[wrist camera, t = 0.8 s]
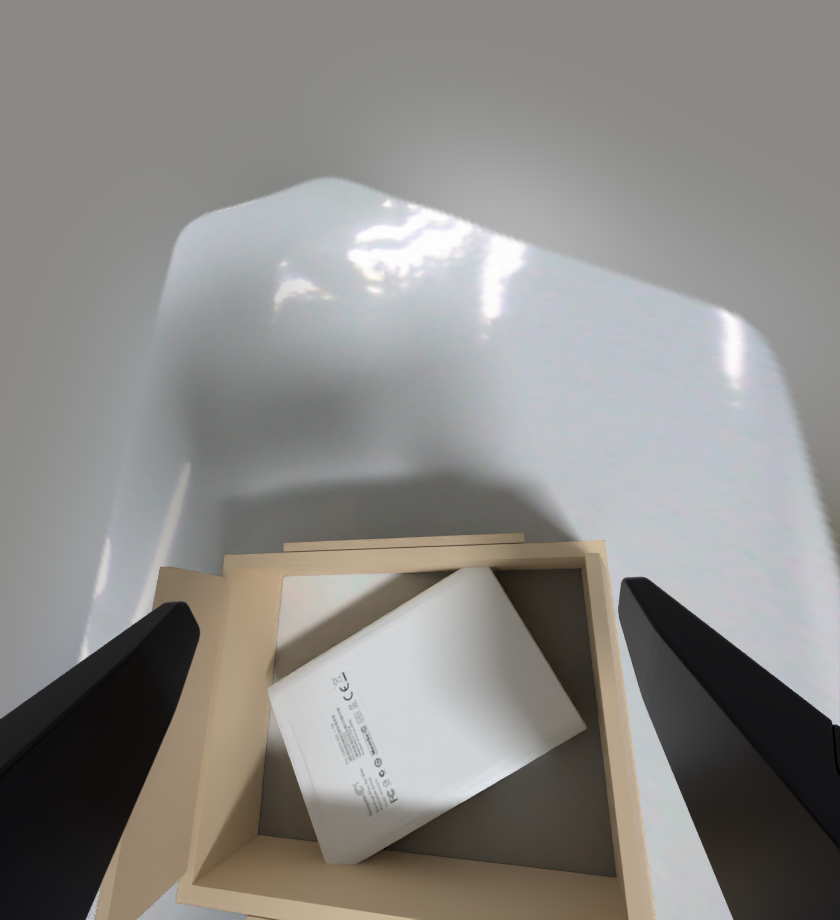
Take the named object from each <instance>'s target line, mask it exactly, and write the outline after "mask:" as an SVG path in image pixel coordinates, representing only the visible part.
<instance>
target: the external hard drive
mask: <svg viewBox="0 0 840 920" xmlns="http://www.w3.org/2000/svg"><path fill="white" fill-rule="evenodd" d="M267 690H268V697H269V700H270V703H271V706H272V709H273V712H274V715H275V718H276V721H277V723H278V726H279V729H280V731H281V734H282V737H283V740H284V743H285V746H286V749H287V752H288V755H289V758H290V760H291V763H292V766H293V769H294V772H295V775H296V778H297V781H298V784H299V787H300V790H301V793H302V796H303V799H304V802H305V805H306V807H307V810H308V813H309V816H310V819H311V822H312V825H313V828H314V831H315V834H316V837H317V840H318V843H319V846H320V849H321V852H322V854H323V858H324V861H325V863H329V864H343V865H355V864H357V863H359V862H361V861H363V860H364V859H366V858H368V857H370V856H371V855H373V854H375V853H377V852H378V851H380V850H382V849H383V848H385V847H387V846H388V845H390V844H392V843H394V842H395V841H397V840H399V839H401V838H402V837H404V836H406V835H408V834H409V833H411V832H412V831H414V830H416V829H418V828H419V827H421V826H423V825H425V824H426V823H428V822H430V821H431V820H433V819H435V818H436V817H438V816H440V815H442V814H443V813H445V812H446V811H448V810H450V809H452V808H453V807H455V806H457V805H458V804H460V803H462V802H464V801H465V800H467V799H469V798H471V797H472V796H474V795H475V794H477V793H479V792H480V791H482V790H484V789H486V788H487V787H489V786H491V785H492V784H494V783H496V782H498V781H499V780H501V779H503V778H504V777H506V776H508V775H510V774H511V773H513V772H515V771H516V770H518V769H520V768H521V767H523V766H525V765H526V764H528V763H530V762H532V761H533V760H535V759H537V758H538V757H540V756H542V755H543V754H545V753H546V752H548V751H550V750H552V749H553V748H555V747H557V746H558V745H560V744H562V743H564V742H565V741H567V740H569V739H570V738H572V737H574V736H575V735H577V734H578V733H580V732H582V731H584V730H586V728H587V725H586V723H585V721H584V720H583V718H582V716H581V715H580V713H579V711H578V710H577V708H576V707H575V705H574V703H573V702H572V700H571V698H570V697H569V695H568V693H567V692H566V690H565V689H564V687H563V685H562V684H561V682H560V680H559V679H558V677H557V676H556V674H555V672H554V671H553V669H552V667H551V666H550V664H549V662H548V661H547V659H546V657H545V656H544V654H543V652H542V651H541V649H540V648H539V646H538V644H537V643H536V641H535V639H534V638H533V636H532V635H531V633H530V631H529V630H528V628H527V626H526V625H525V623H524V621H523V620H522V618H521V616H520V615H519V613H518V612H517V610H516V608H515V607H514V605H513V603H512V602H511V600H510V598H509V597H508V595H507V593H506V592H505V590H504V589H503V587H502V585H501V584H500V582H499V580H498V579H497V577H496V575H495V574H494V572H493V570H492V569H491V568H490V567H470V568H461V569H459V570H457V571H456V572H454V573H453V574H451V575H449V576H448V577H446V578H444V579H443V580H441V581H439V582H438V583H436V584H435V585H433V586H431V587H430V588H428V589H426V590H425V591H423V592H422V593H420V594H418V595H417V596H415V597H413V598H412V599H410V600H408V601H407V602H405V603H404V604H402V605H400V606H399V607H397V608H396V609H394V610H392V611H391V612H389V613H387V614H386V615H384V616H383V617H381V618H379V619H378V620H376V621H374V622H373V623H371V624H370V625H368V626H366V627H365V628H363V629H361V630H360V631H358V632H356V633H355V634H353V635H352V636H350V637H348V638H347V639H345V640H343V641H342V642H340V643H339V644H337V645H335V646H334V647H332V648H330V649H329V650H327V651H326V652H324V653H322V654H321V655H319V656H317V657H316V658H314V659H313V660H311V661H309V662H308V663H306V664H305V665H303V666H301V667H300V668H298V669H296V670H295V671H293V672H292V673H290V674H289V675H287V676H285V677H283V678H282V679H280V680H278V681H277V682H275V683H274V684H272V685H270V686H269V687H268V689H267Z"/></svg>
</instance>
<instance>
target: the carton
mask: <svg viewBox="0 0 840 920" xmlns="http://www.w3.org/2000/svg"><path fill="white" fill-rule="evenodd" d="M283 552H286V553H261V554H235V555H225V556H224V563H223V570H222V577H226V578H227V582H226V589H225V596H224V604H223V611H222V618H221V625H220V633H219V640H218V647H217V655H216V662H215V669H214V677H213V684H212V691H211V698H210V706H209V713H208V720H207V728H206V735H205V742H204V749H203V757H202V764H201V771H200V779H199V786H198V793H197V801H196V808H195V815H194V822H193V830H192V837H191V844H190V852H189V859H188V866H187V872H186V873H185V874H184V875H183V876H182V877H181V878H180V879H179V882H178V890H177V897H176V903H181V904H187V905H193V906H199V907H205V908H211V909H218V910H224V911H230V912H236V913H242V914H248V915H247V920H629V918H628V910H627V902H626V893H625V885H624V877H623V868H622V860H621V852H620V843H619V835H618V826H617V818H616V810H615V801H614V793H613V785H612V776H611V768H610V760H609V751H608V743H607V735H606V726H605V718H604V710H603V701H602V693H601V685H600V676H599V668H598V660H597V651H596V643H595V635H594V626H593V618H592V610H591V601H590V593H589V585H588V576H587V568H586V560H585V553H599V554H600V556H601V558H602V560H603V562H604V564H605V565H606V567H607V573H608V581H609V588H610V596H611V603H612V610H613V618H614V625H615V633H616V640H617V648H618V655H619V663H620V670H621V677H622V685H623V692H624V700H625V707H626V715H627V722H628V729H629V737H630V744H631V752H632V759H633V767H634V774H635V782H636V789H637V796H638V804H639V811H640V819H641V826H642V834H643V841H644V848H645V856H646V863H647V871H648V878H649V886H650V893H651V901H652V908H653V915H654V920H656V916H655V909H654V901H653V894H652V886H651V879H650V872H649V864H648V857H647V850H646V842H645V835H644V827H643V820H642V813H641V805H640V798H639V791H638V783H637V776H636V768H635V761H634V754H633V746H632V739H631V731H630V724H629V717H628V709H627V702H626V695H625V687H624V680H623V672H622V665H621V658H620V650H619V643H618V636H617V628H616V621H615V613H614V606H613V599H612V591H611V584H610V577H609V569H608V562H607V554H606V547H605V540H602V541H576V542H550V543H525V538H524V533H502V534H479V535H456V536H433V537H410V538H387V539H364V540H341V541H318V542H295V543H284V546H283ZM470 567H490V568H491V569H492V570H493V571H496V570H535V569H575V568H581V573H582V582H583V590H584V599H585V608H586V616H587V625H588V634H589V642H590V651H591V659H592V668H593V677H594V685H595V694H596V703H597V711H598V720H599V728H600V737H601V746H602V754H603V763H604V772H605V780H606V789H607V797H608V806H609V815H610V823H611V832H612V841H613V849H614V858H615V867H616V875H617V878H616V877H608V876H599V875H591V874H582V873H574V872H566V871H557V870H549V869H540V868H532V867H524V866H515V865H507V864H498V863H490V862H482V861H473V860H465V859H456V858H448V857H440V856H431V855H423V854H414V853H406V852H397V851H389V850H380V851H378V852H377V853H375V854H373V855H371V856H370V857H368V858H366V859H364V860H363V861H361V862H359V863H357V864H355V865H343V864H329V863H325V861H324V858H323V854H322V852H321V849H320V846H319V843H318V842H313V841H305V840H297V839H288V838H280V837H271V836H263V835H258V827H259V817H260V807H261V796H262V786H263V776H264V766H265V755H266V745H267V735H268V724H269V714H270V704H271V703H270V700H269V697H268V690H267V689H268V687H269V686H270V685H272V683H273V673H274V663H275V653H276V642H277V632H278V622H279V611H280V601H281V591H282V581H283V576H299V575H338V574H378V573H417V572H456V571H457V570H459V569H461V568H470Z"/></svg>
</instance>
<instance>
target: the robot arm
mask: <svg viewBox="0 0 840 920" xmlns="http://www.w3.org/2000/svg"><path fill="white" fill-rule="evenodd" d="M618 613H619V619H620V623H621V627H622V630H623V633H624V637H625V640H626V644H627V647H628V651H629V654H630V658H631V661H632V665H633V668H634V671H635V675H636V678H637V682H638V685H639V688H640V692H641V695H642V698H643V701H644V703H645V706H646V708H647V711H648V713H649V716H650V718H651V721H652V723H653V726H654V728H655V730H656V733H657V735H658V738H659V740H660V743H661V745H662V747H663V750H664V752H665V755H666V757H667V760H668V762H669V764H670V767H671V769H672V772H673V774H674V777H675V779H676V781H677V784H678V786H679V789H680V791H681V794H682V796H683V798H684V801H685V803H686V806H687V808H688V811H689V813H690V815H691V818H692V820H693V823H694V825H695V828H696V830H697V832H698V835H699V837H700V840H701V842H702V845H703V847H704V849H705V852H706V854H707V857H708V859H709V862H710V864H711V866H712V869H713V871H714V874H715V876H716V879H717V881H718V883H719V886H720V888H721V891H722V893H723V896H724V898H725V900H726V903H727V905H728V908H729V910H730V913H731V915H732V917H733V920H840V726H838V725H832V721H831V720H830V719H829V718H828V717H826V716H825V715H824V714H822V713H821V712H820V711H819V710H817V709H816V708H815V707H813V706H812V705H811V704H810V703H808V702H807V701H806V700H804V699H803V698H802V697H800V696H799V695H798V694H797V693H795V692H794V691H793V690H791V689H790V688H789V687H788V686H786V685H785V684H784V683H782V682H781V681H780V680H778V679H777V678H776V677H775V676H773V675H772V674H771V673H769V672H768V671H767V670H766V669H764V668H763V667H762V666H760V665H759V664H758V663H756V662H755V661H754V660H753V659H751V658H750V657H749V656H747V655H746V654H745V653H743V652H742V651H741V650H740V649H738V648H737V647H736V646H734V645H733V644H732V643H731V642H729V641H728V640H727V639H725V638H724V637H723V636H721V635H720V634H719V633H718V632H716V631H715V630H714V629H712V628H711V627H710V626H709V625H707V624H706V623H705V622H703V621H702V620H701V619H699V618H698V617H697V616H696V615H694V614H693V613H692V612H690V611H689V610H688V609H687V608H685V607H684V606H683V605H681V604H680V603H679V602H677V601H676V600H675V599H674V598H672V597H671V596H670V595H668V594H667V593H666V592H665V591H663V590H662V589H661V588H659V587H658V586H657V585H655V584H654V583H653V582H652V581H650V580H649V579H647V578H645V577H627V578H624V579H623V580H622V582H621V589H620V597H619V606H618ZM199 639H200V627H199V625H198V623H197V621H196V619H195V617H194V615H193V613H192V611H191V609H190V607H189V605H188V604H187V603H186V602H184V601H173V602H166V603H163V604H162V605H160V606H159V607H158V608H156V609H155V610H153V611H152V612H151V613H149V614H148V615H146V616H145V617H143V618H142V619H141V620H139V621H138V622H136V623H135V624H134V625H132V626H131V627H129V628H128V629H127V630H125V631H124V632H122V633H121V634H120V635H118V636H117V637H115V638H114V639H112V640H111V641H110V642H108V643H107V644H105V645H104V646H103V647H101V648H100V649H98V650H97V651H96V652H94V653H93V654H91V655H90V656H89V657H87V658H86V659H84V660H83V661H82V662H80V663H79V664H77V665H76V666H74V667H73V668H72V669H70V670H69V671H67V672H66V673H65V674H63V675H62V676H60V677H59V678H58V679H56V680H55V681H53V682H52V683H51V684H49V685H48V686H46V687H45V688H44V689H42V690H41V691H39V692H38V693H37V694H35V695H34V696H32V697H31V698H29V699H28V700H27V701H25V702H24V703H23V704H21V705H20V706H18V707H17V708H15V709H14V710H13V711H11V712H10V713H8V714H7V715H6V716H4V717H3V718H1V719H0V920H86V918H87V915H88V913H89V911H90V908H91V906H92V904H93V901H94V899H95V897H96V895H97V892H98V890H99V888H100V885H101V883H102V881H103V878H104V876H105V874H106V871H107V869H108V867H109V865H110V862H111V860H112V858H113V855H114V853H115V851H116V848H117V846H118V844H119V841H120V839H121V837H122V834H123V832H124V830H125V828H126V825H127V823H128V821H129V818H130V816H131V814H132V811H133V809H134V807H135V804H136V802H137V800H138V797H139V795H140V793H141V791H142V788H143V786H144V784H145V781H146V779H147V777H148V774H149V772H150V770H151V767H152V765H153V763H154V760H155V758H156V756H157V754H158V751H159V749H160V747H161V744H162V742H163V740H164V737H165V735H166V733H167V730H168V728H169V726H170V724H171V721H172V719H173V716H174V714H175V711H176V709H177V706H178V703H179V700H180V697H181V694H182V691H183V688H184V685H185V682H186V679H187V676H188V673H189V670H190V667H191V664H192V661H193V658H194V655H195V651H196V648H197V645H198V642H199Z"/></svg>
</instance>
